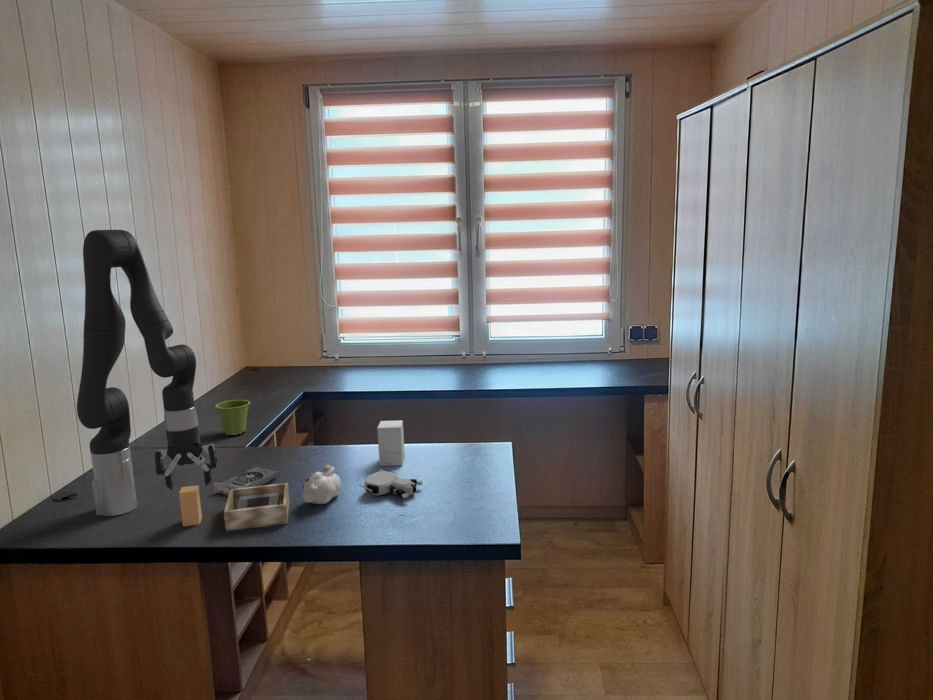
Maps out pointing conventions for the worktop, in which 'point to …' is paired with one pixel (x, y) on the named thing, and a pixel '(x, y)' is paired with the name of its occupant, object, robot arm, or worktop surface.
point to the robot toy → (390, 484)
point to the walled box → (257, 507)
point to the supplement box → (391, 443)
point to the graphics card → (246, 480)
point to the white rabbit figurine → (322, 486)
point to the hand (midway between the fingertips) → (189, 486)
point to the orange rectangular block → (190, 505)
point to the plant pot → (233, 415)
